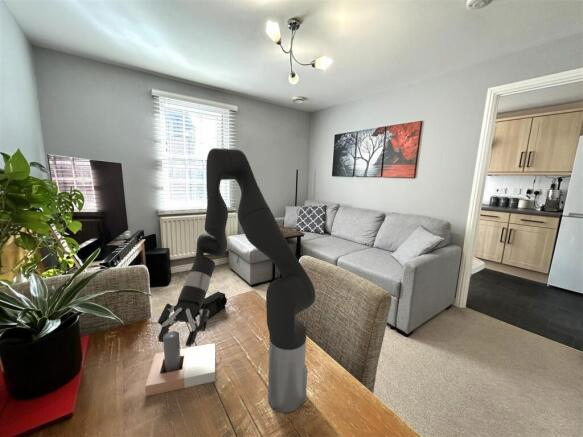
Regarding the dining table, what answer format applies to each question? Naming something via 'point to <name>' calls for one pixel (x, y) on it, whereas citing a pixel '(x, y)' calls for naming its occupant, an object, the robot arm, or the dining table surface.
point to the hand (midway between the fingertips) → (174, 344)
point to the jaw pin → (172, 352)
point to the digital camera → (214, 303)
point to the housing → (183, 370)
